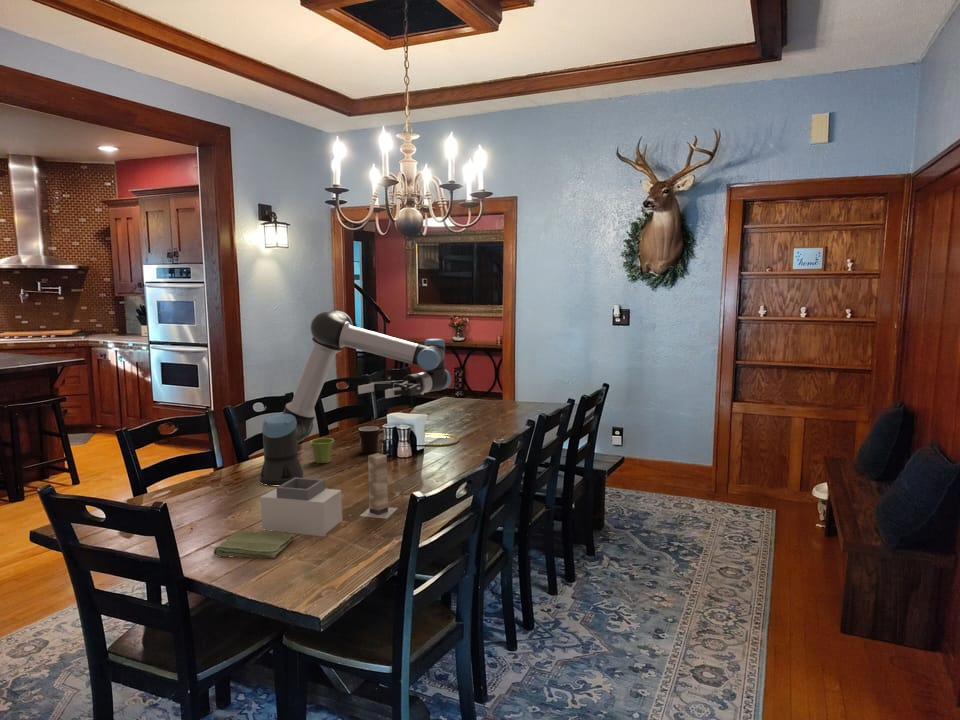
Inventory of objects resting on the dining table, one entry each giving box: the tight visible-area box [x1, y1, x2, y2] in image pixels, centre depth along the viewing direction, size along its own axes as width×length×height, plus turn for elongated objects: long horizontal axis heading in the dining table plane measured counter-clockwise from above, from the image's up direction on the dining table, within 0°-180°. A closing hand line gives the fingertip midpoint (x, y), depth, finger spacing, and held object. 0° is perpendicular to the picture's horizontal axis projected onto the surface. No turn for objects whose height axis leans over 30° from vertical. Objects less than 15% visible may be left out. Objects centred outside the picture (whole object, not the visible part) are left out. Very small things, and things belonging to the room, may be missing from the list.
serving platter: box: [424, 433, 460, 447], centre depth 283 cm, size 19×35×2 cm, turn 83°
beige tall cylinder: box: [367, 452, 389, 515], centre depth 192 cm, size 4×4×18 cm
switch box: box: [260, 477, 343, 537], centre depth 183 cm, size 20×11×13 cm, turn 76°
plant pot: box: [309, 437, 335, 464], centre depth 250 cm, size 9×9×9 cm
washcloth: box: [213, 530, 294, 559], centre depth 168 cm, size 13×18×3 cm
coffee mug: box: [358, 425, 380, 454], centre depth 266 cm, size 12×9×10 cm
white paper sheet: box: [359, 506, 399, 520], centre depth 193 cm, size 9×9×1 cm
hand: (371, 392), depth 209 cm, fingers open, 13 cm apart
